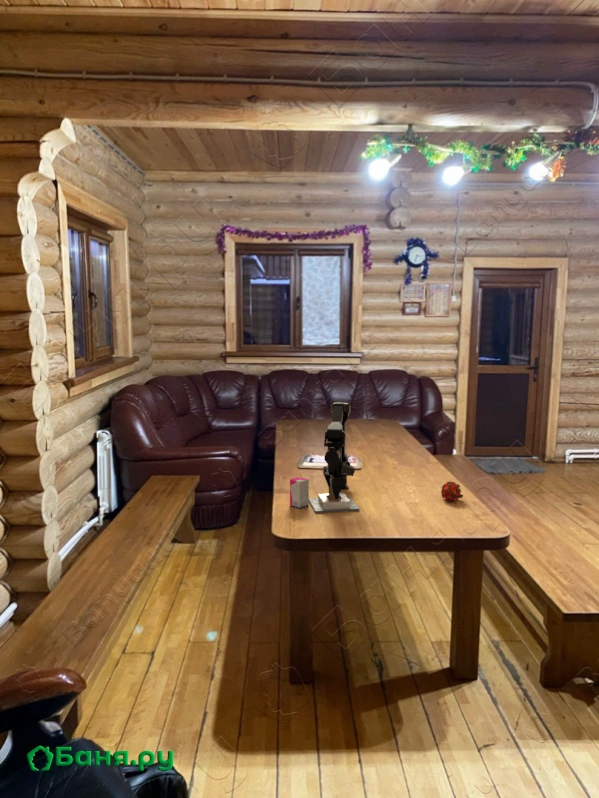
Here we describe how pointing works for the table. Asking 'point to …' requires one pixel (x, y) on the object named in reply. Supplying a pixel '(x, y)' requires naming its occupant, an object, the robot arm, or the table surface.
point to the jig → (332, 504)
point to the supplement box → (299, 492)
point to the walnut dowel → (331, 495)
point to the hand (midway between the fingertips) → (334, 495)
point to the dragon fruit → (451, 491)
